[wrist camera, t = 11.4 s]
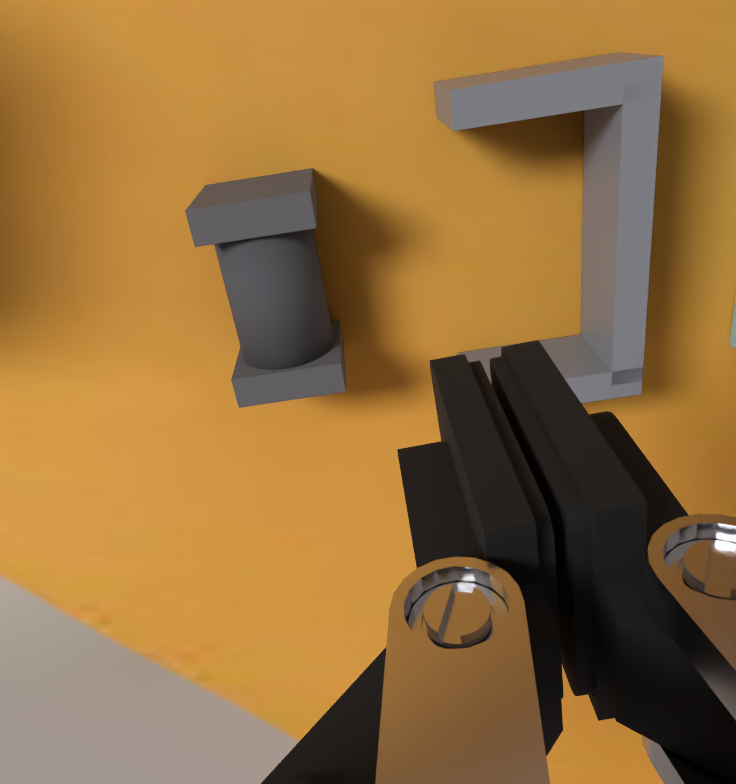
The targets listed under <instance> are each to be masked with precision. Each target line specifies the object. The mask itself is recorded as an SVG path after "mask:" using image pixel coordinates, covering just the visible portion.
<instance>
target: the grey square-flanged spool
mask: <svg viewBox="0 0 736 784" xmlns="http://www.w3.org/2000/svg"><path fill="white" fill-rule="evenodd" d="M185 212H186V216H187V219H188V223H189V227H190V230H191V234H192V238H193V241H194V245H195V247H198V246H204V245H211V244H214V245H215V249H216V253H217V257H218V261H219V264H220V268H221V272H222V276H223V280H224V284H225V288H226V291H227V295H228V299H229V303H230V307H231V311H232V315H233V319H234V322H235V326H236V330H237V334H238V338H239V342H240V346H241V347H240V351H239V354H238V358H237V361H236V365H235V369H234V372H233V376H232V379H231V380H232V384H233V388H234V391H235V395H236V399H237V402H238V406H239V408H240V407H247V406H254V405H260V404H267V403H274V402H281V401H287V400H294V399H301V398H307V397H314V396H321V395H327V394H334V393H341V392H346V382H345V360H344V344H343V339H342V333H341V327H340V322H339V321H336V322H330V317H329V311H328V306H327V300H326V295H325V289H324V284H323V278H322V273H321V267H320V262H319V256H318V251H317V245H316V240H315V235H314V228H316V227H317V212H318V196H317V191H316V185H315V179H314V174H313V168H312V169H305V170H299V171H292V172H286V173H280V174H273V175H267V176H261V177H254V178H248V179H242V180H235V181H229V182H223V183H216V184H210V185H205V187H204V188H203V189H202V190H201V192H200V193H199V194H198V195H197V197H196V198H195V199H194V200H193V202H192V203H191V204H190V205H189V207H188V208H187V209H186V211H185Z"/></svg>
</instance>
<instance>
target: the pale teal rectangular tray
mask: <svg viewBox="0 0 736 784" xmlns="http://www.w3.org/2000/svg"><path fill="white" fill-rule="evenodd" d="M730 345H731V346H733V347H734V348H735V349H736V299H735V306H734V314H733V321H732V329H731V336H730Z"/></svg>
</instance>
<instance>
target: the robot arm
mask: <svg viewBox="0 0 736 784" xmlns="http://www.w3.org/2000/svg"><path fill="white" fill-rule="evenodd" d="M430 369H431V376H432V383H433V389H434V396H435V402H436V409H437V415H438V422H439V428H440V435H441V442H436V443H430V444H425V445H419V446H414V447H408V448H403V449H397V451H398V457H399V463H400V469H401V475H402V481H403V487H404V493H405V499H406V505H407V511H408V517H409V523H410V529H411V535H412V541H413V547H414V553H415V559H416V565H417V569H416V570H414V571H413V572H412V573H411V574H409V575H408V576H407V577H405V578H404V579H403V581H402V582H401V583H400V585H399V586H398V588H397V589H396V591H395V592H394V594H393V598H392V602H391V605H390V610H389V622H388V634H387V646H386V648H385V649H384V650H383V651H382V652H381V653H380V654H379V656H378V657H377V658H376V659H375V660H374V661H373V662H372V663H371V664H370V665H369V666H368V668H367V669H366V670H365V671H364V672H363V673H362V674H361V675H360V676H359V677H358V678H357V680H356V681H355V682H354V683H353V684H352V685H351V686H350V687H349V688H348V689H347V690H346V691H345V693H344V694H343V695H342V696H341V697H340V698H339V699H338V700H337V701H336V702H335V703H334V705H333V706H332V707H331V708H330V709H329V710H328V711H327V712H326V713H325V714H324V715H323V717H322V718H321V719H320V720H319V721H318V722H317V723H316V724H315V725H314V726H313V727H312V729H311V730H310V731H309V732H308V733H307V734H306V735H305V736H304V737H303V738H302V739H301V740H300V742H299V743H298V744H297V745H296V746H295V747H294V748H293V749H292V750H291V751H290V753H289V754H288V755H287V756H286V757H285V758H284V759H283V760H282V761H281V763H279V764H278V766H277V767H276V768H275V769H274V770H273V771H272V772H271V773H270V774H269V775H268V776H267V778H266V779H265V780H264V781H263V782H262V783H261V784H550V780H549V773H548V766H547V759H546V756H547V755H548V753H549V751H550V750H551V748H552V747H553V745H554V743H555V742H556V740H557V739H558V737H559V736H560V734H561V732H562V731H563V722H562V706H561V699H562V698H563V680H562V665H563V668H564V671H565V673H566V676H567V679H568V682H569V684H570V687H571V689H572V691H573V693H574V695H575V696H581V695H587V694H588V695H589V697H590V700H591V702H592V705H593V707H594V710H595V713H596V715H597V718H598V720H605V719H611V718H615V719H616V721H617V722H619V723H621V724H622V725H624V726H626V727H628V728H630V729H632V730H633V731H635V732H637V733H639V734H641V735H642V739H643V745H644V748H645V750H646V752H647V754H648V757H649V759H650V761H651V763H652V764H653V766H654V768H655V769H656V771H657V773H658V774H659V776H660V778H661V779H662V781H663V782H664V784H736V518H735V517H730V516H725V515H717V514H696V515H690V516H689V515H688V514H687V512H686V511H685V510H684V508H683V507H682V506H681V504H680V503H679V502H678V500H677V499H676V497H675V496H674V495H673V493H672V492H671V491H670V489H669V488H668V487H667V485H666V484H665V483H664V481H663V480H662V479H661V477H660V476H659V474H658V473H657V472H656V470H655V469H654V468H653V466H652V465H651V464H650V462H649V461H648V460H647V458H646V457H645V455H644V454H643V453H642V451H641V450H640V449H639V447H638V446H637V445H636V443H635V442H634V441H633V439H632V438H631V436H630V435H629V434H628V432H627V431H626V430H625V428H624V427H623V426H622V424H621V423H620V422H619V420H618V419H617V418H616V417H615V415H614V414H613V413H612V412H608V411H606V412H600V413H595V414H588V413H587V411H586V410H585V408H584V407H583V405H582V404H581V402H580V401H579V399H578V398H577V396H576V395H575V393H574V392H573V390H572V389H571V387H570V386H569V384H568V383H567V381H566V380H565V379H564V377H563V376H562V374H561V373H560V371H559V370H558V368H557V367H556V365H555V364H554V362H553V361H552V359H551V358H550V356H549V355H548V353H547V352H546V350H545V349H544V347H543V346H542V344H541V343H540V342H539V341H538V340H536V341H531V342H526V343H520V344H515V345H510V346H504V347H502V349H501V357H495V358H490V374H491V383H490V381H489V378H488V376H487V374H486V372H485V370H484V367H483V365H482V363H481V361H480V360H479V361H474V362H468V360H467V357H466V355H465V354H462V355H456V356H451V357H446V358H440V359H435V360H430ZM491 384H492V385H491Z"/></svg>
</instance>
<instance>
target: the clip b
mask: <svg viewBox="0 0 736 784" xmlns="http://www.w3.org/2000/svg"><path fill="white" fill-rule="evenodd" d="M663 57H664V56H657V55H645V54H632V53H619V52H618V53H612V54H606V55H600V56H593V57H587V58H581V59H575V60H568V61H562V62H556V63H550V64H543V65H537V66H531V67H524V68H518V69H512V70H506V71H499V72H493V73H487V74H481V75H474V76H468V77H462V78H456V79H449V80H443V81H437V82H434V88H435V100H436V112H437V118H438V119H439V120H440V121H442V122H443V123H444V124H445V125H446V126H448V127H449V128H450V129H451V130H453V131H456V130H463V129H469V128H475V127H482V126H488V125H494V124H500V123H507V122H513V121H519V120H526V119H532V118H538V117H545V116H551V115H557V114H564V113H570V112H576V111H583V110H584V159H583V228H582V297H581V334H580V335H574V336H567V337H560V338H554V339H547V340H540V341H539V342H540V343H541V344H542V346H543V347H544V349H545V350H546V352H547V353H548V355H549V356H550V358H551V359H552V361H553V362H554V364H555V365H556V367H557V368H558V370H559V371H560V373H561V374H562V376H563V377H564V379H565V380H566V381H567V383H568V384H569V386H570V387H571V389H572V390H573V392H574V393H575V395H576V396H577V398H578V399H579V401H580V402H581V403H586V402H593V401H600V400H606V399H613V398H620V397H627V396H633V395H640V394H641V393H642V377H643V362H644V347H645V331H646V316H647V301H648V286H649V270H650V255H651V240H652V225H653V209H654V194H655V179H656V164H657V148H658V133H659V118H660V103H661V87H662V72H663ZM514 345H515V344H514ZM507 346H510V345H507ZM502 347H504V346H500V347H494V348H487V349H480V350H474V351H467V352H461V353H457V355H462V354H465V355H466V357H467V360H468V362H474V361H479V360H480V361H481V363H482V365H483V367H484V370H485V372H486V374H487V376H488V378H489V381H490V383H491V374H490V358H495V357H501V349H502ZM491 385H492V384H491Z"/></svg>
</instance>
